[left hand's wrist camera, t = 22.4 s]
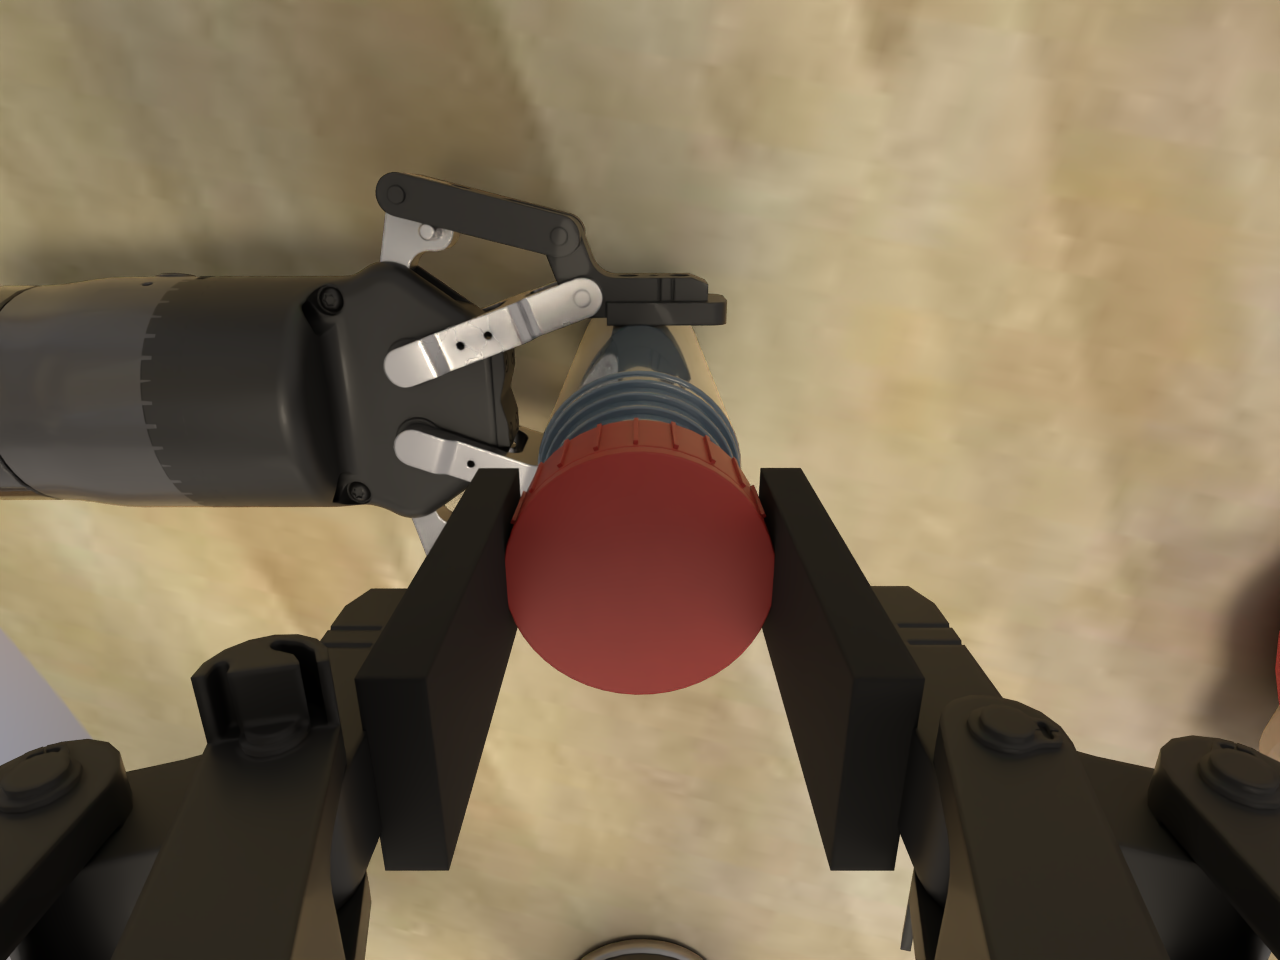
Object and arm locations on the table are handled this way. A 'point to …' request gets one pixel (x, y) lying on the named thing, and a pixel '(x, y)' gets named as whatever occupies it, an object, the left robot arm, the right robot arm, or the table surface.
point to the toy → (1273, 722)
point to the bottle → (638, 385)
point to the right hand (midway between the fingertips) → (718, 392)
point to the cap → (639, 559)
